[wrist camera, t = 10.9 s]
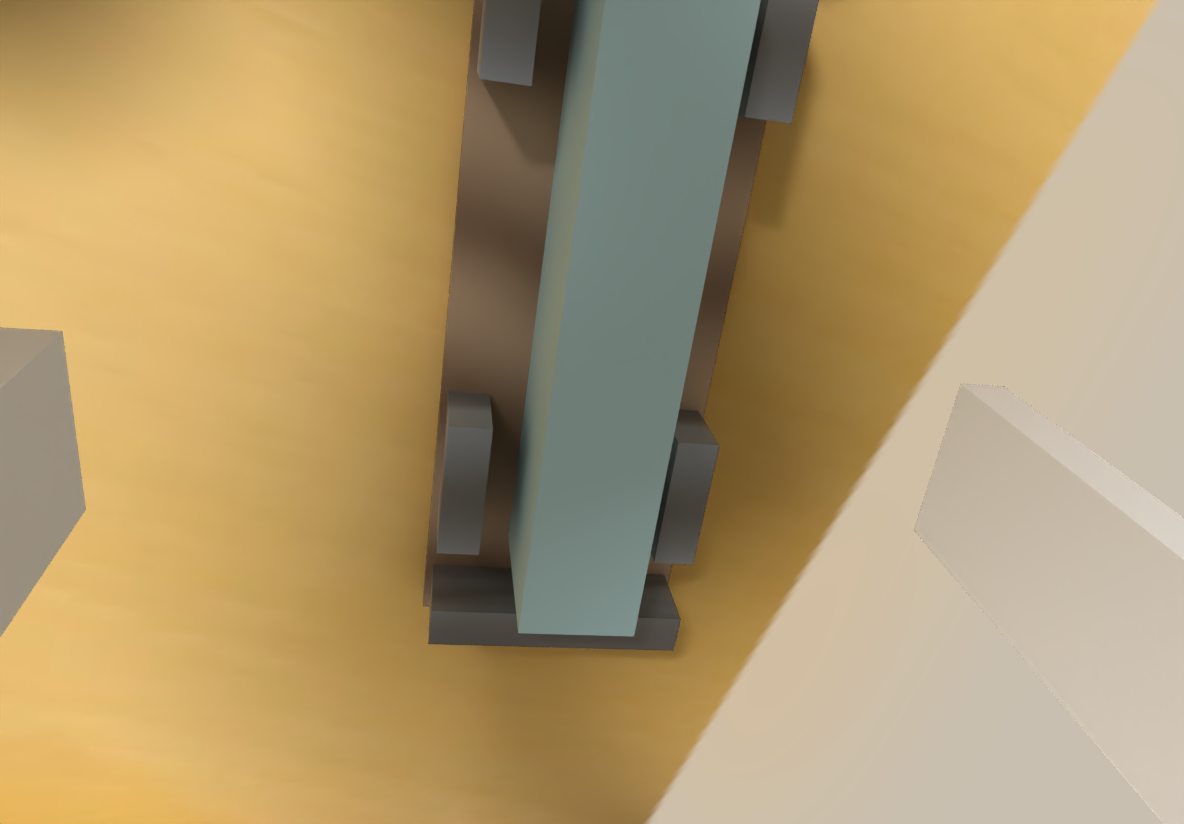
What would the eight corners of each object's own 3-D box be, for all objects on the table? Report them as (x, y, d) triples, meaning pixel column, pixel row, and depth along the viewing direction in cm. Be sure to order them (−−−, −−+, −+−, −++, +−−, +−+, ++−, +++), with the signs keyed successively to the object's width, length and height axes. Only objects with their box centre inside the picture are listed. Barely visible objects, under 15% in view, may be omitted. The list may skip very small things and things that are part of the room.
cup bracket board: (498, -287, 26) (506, -334, 22) (826, -214, 27) (883, -247, 24) (423, 591, 37) (420, 654, 34) (656, 600, 39) (677, 660, 36)
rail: (586, -89, 27) (620, -112, 22) (713, -66, 28) (777, -83, 22) (508, 537, 36) (518, 633, 30) (606, 542, 36) (633, 636, 31)
